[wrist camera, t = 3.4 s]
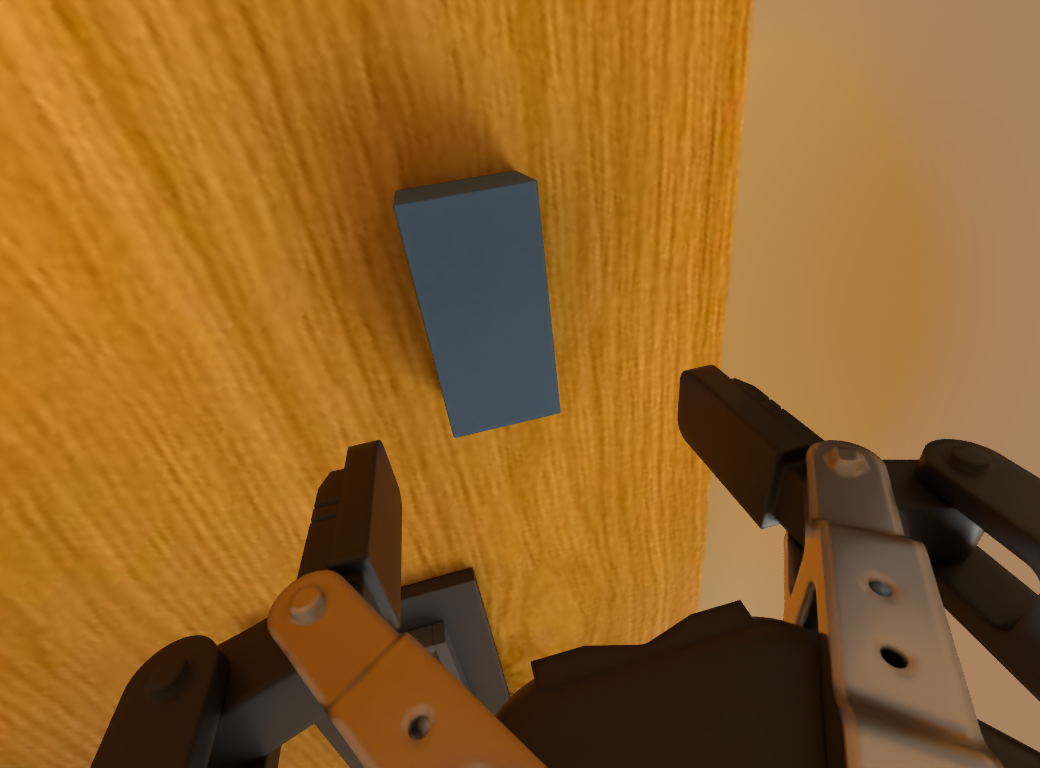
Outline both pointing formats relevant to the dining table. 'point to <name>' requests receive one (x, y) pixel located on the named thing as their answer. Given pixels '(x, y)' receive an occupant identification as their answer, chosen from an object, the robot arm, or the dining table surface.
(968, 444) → the robot arm
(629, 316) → the dining table surface
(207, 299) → the dining table surface
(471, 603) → the backing plate
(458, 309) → the blue rectangular block
